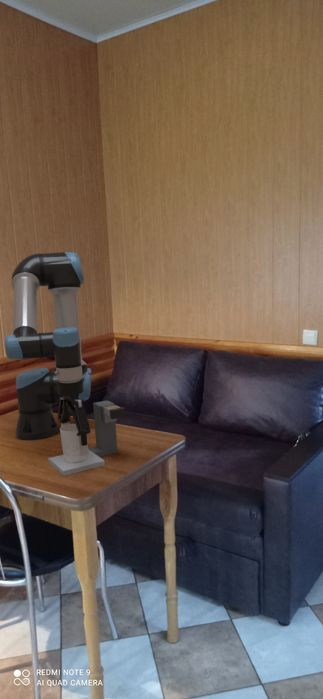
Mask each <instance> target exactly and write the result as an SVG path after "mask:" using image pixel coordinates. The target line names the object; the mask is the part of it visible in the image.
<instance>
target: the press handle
mask: <svg viewBox="0 0 323 699" xmlns="http://www.w3.org/2000/svg"><path fill="white" fill-rule="evenodd" d="M101 408H102V421H103V422H104V423H109V422H114V421H115V422H117V421H118V419H121V418H126V416H127V414H126V407H123V406H121V407H120V406H119V405H117V404H115V403H114V404H110V405H105V406H101Z"/></svg>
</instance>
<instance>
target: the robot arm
mask: <svg viewBox="0 0 323 699" xmlns="http://www.w3.org/2000/svg"><path fill="white" fill-rule="evenodd" d="M10 282H11V283H10V285H11V288H12V290H13V316H12V317H13V319H12V320H13V321H12V333H11V334H9V335H6V336H5V338H4V348H5V354H6V358H8V359H9V360H25V359H26V360H27V359H37V358H49V357H54V360H55V362H54V363H55V365H54V371H50V370H49V369H48V367H37V368H31V369H28V370H25V371H23V372H20V373H18V374H17V376H16V378H15V386H16V387H15V390H16V397H17V407H18V408H17V409H18V418H17V423H16V427H15V437H16V438H17V439H20V440H28V441H29V440H39V439H40V440H42V439H46V438H50V437H52V436H55V435H56V434H58V433H59V423H58V422H57V420H58V421H59V422H60V427H62V426H64V425H67V424H71V417H70V416H72V417H73V420H74V423H75V424H76V427H77V430H78V433H77V436H78V448H79V456H80V457H82V456H86V455H89V451H88V449H89V441H88V434H91V428H90V424H89V419H88V416H87V412H86V408H85V401H87V400H89V398H90V396H91V388H92V387H91V386H92V369H91V368H90V367H88V364H87V363H86V362H85V361H84V360H83V357H82V356H83V355H82V342H81V330H80V316H79V305H78V304H79V302H78V293H79V292H80V291H81V289H82V288H81V285H84V284H85V279H84V273H83V268H82V264H81V259H80V256H79V254H78V253H76V252H74V251H73V252H69V251H68V252H66V251H63V252H48V253H47V252H46V253H34V254H30V255H28V256H26V257H25V258H23V259H22V260H21V261H20V262H19V263H18V264H17V265H16V267H15V268H14V270H13V272H12V275H11V280H10ZM40 287H47V291H48V292H49V293H50V294H51V295H52V300H53V302H52V303H53V312H54V326H55V329H54V330H53V331H51V332H38V290H40V289H39V288H40ZM53 404H54V405H55V404H58V409H57V410H58V411H57V419H56V417H55V415H54V412H53V410H52V408H53V407H52V405H53Z"/></svg>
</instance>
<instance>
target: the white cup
mask: <svg viewBox="0 0 323 699" xmlns="http://www.w3.org/2000/svg"><path fill="white" fill-rule="evenodd" d="M77 433H78V430H77V427H76V424H75V422H74V423H70V424H67V425H64V426H62V427H61V426H60V428H59V435H60V442H61V447H62V452H63V454H62V455H64V460H65V461H66V462H69V463H76V462H81V461H84V460H85V459H86V458H87V455H86V456H82V457H80V456H79V448H78V436H77Z"/></svg>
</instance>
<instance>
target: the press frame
mask: <svg viewBox="0 0 323 699" xmlns="http://www.w3.org/2000/svg"><path fill="white" fill-rule="evenodd" d="M110 404H114V405H115V403H114V402H112V401H110V400H104V401H103V400H102V401H97V402H93V403H92V408H93V419H94V420H93V421H94V432H95V433H94V434H95V435H94V436H95V446H94V447H91V448H89V447H88V451H89V455H87V458H86V459H85V460H84V461H81V462H76V463H69V462H66V461H65V460H64V454H61V455H56V456H51V457H48V464H50V465H51V466H52V467H53V468H54V469H55V470H56V471H57V472H58V473H60V475H61V476H63V477H65V476H69V475H74V474H77V473H81V472H85V471H88V470H93V469H96V468H101V467H105V466H106V460H104V459H103V458H101V457H103V456H107V455H111V454H116V453H118V442H117V440H118V438H117V428H116V426H117V425H116V421H114V422H109V423H104V422H103V421H102V408H101V406H105V405H110Z"/></svg>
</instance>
